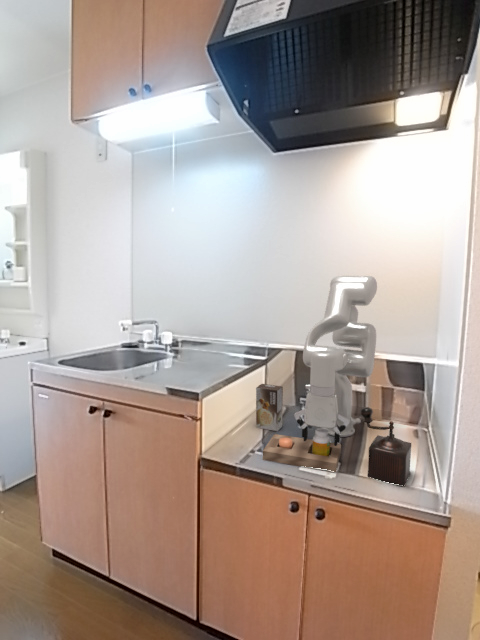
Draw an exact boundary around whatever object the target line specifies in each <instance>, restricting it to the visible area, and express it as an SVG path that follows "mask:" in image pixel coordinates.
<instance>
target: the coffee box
mask: <svg viewBox="0 0 480 640" xmlns="http://www.w3.org/2000/svg"><path fill="white" fill-rule="evenodd" d="M283 393H284V392H283V385H282V386H281V385H274V384H267V383H260V384H259V385H258V386H256V388H255V397H256V399H255V401H256V403H255V411H256V412H255V414H256V415H255V417H256V418H255V419H256V420H255V427H256V428H257V427H258V429H262V430H263V429H264V430H269V431H274V432H278V431H279V430H280V429H281V428H282V427H283V399H284V398H283Z"/></svg>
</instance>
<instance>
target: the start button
mask: <svg viewBox="0 0 480 640" xmlns="http://www.w3.org/2000/svg"><path fill="white" fill-rule="evenodd" d="M292 444H293V440H292V439H290V438H280V439H279V447H282V448H288V449H292Z"/></svg>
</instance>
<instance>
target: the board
mask: <svg viewBox="0 0 480 640" xmlns="http://www.w3.org/2000/svg"><path fill="white" fill-rule="evenodd" d="M280 438H290V439H292V440H293V444H292V449H288V448H282V447H279V439H280ZM312 447H313V439H309V438H307V440H306V441H304V437H296V436H291V435H285V434H284V435H283V434H276V433H274V434H273V435H272V437H271V438H270V440H269V441H268V443H267V444H266V445H265V447H264V449H263V450H262V460H263V461H268V462H273V463H278V464H283V465H291V466H296V467H301V466H304V467H303V468H306V467H313V468H321V469H327V470H331V471H334V472H336V473H337V471H336V470H338V467H337V466H339V461H340V457H341V454H342V444H341V443H337V446H335V445H334V442H330V450H329V457H328V456H322V455H316V454H312ZM305 466H306V467H305ZM334 472H333V473H334Z"/></svg>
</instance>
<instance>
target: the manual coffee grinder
mask: <svg viewBox="0 0 480 640" xmlns="http://www.w3.org/2000/svg"><path fill="white" fill-rule="evenodd" d="M373 413H374V411H373V408H371V407H369V406H365V407H362V408H361V409H360V416H361V417H362V418H363V423H364V424H365V423H366V427H367V428H368V429H372V430H380V431H386V430H389V434H388V435H387V436H383V435H379V434H377V435H376V437H375V438H374V439H373V441H372V442H371V443H370V445H369V447H368V462H367V463H368V465H367V467H368V469H367V477H368V478H370V477H371V479H372V478H374V479H373V480H376V479H378V480H377V481H379V480H381V481H380V482H383V481H385V482H384V483H386V482H389V483H388V484H390V483H394V484H399V485H403V486H404V485H405V486H406V484H407V483H408V480H409V478H408V477H410V475H411V456H412V442H409V441H405V440H402V439H400V438H397V437H395V434H394V433H393V431H394V429H395V426H394V425H395V423H394V422H393V421H392V420H390V421H389V423H388V424H389V425H388V426H377V425H376V426H375V425H371V423H372V422H373V421H374V420H373V418H372V415H373ZM407 479H408V480H407ZM394 484H393V485H394ZM405 486H404V487H405Z"/></svg>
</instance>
